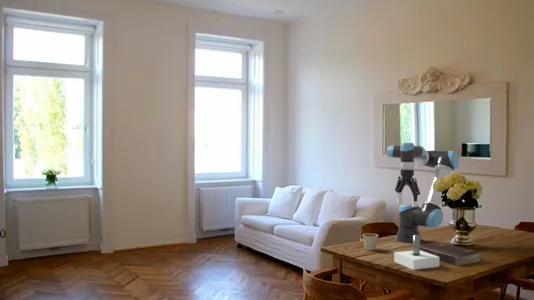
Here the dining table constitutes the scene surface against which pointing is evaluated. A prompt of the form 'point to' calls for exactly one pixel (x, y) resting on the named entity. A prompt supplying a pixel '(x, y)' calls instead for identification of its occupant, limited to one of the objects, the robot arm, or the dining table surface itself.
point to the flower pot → (370, 241)
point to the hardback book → (451, 253)
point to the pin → (416, 245)
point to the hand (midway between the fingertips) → (407, 205)
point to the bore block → (416, 260)
